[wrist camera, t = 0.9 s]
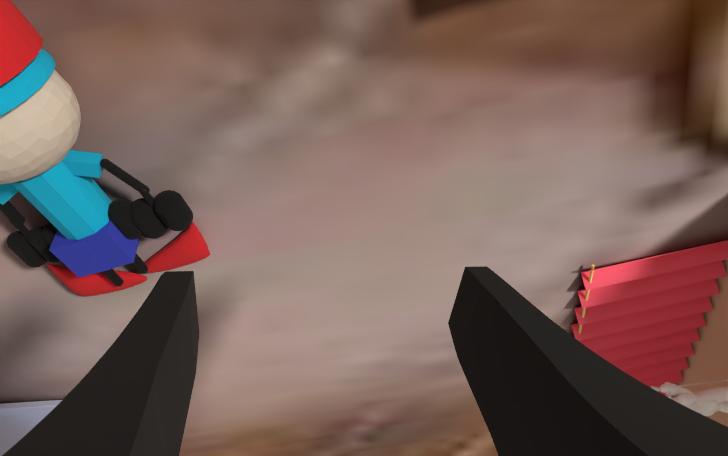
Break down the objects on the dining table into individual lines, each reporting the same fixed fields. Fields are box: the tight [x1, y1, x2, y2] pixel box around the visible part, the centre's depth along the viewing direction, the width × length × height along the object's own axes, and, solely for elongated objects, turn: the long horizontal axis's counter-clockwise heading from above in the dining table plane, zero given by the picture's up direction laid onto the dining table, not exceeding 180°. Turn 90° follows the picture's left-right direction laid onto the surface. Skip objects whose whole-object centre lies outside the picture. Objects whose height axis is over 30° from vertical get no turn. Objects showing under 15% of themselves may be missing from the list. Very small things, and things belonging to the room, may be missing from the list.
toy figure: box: [0, 0, 210, 296], centre depth 17 cm, size 8×5×15 cm
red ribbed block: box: [571, 240, 728, 427], centre depth 28 cm, size 25×13×12 cm, turn 7°
